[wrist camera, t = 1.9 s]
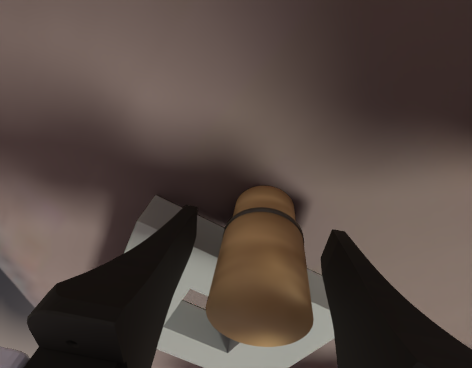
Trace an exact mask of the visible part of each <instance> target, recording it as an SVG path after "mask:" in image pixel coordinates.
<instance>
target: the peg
mask: <svg viewBox="0 0 472 368" xmlns="http://www.w3.org/2000/svg"><path fill="white" fill-rule="evenodd" d="M206 315H207V318H208V320H209V321H210V323H211V324H212V326H213V327H214V328H215V329H216V330H218V331H219V332H220V333H222V334H223V335H225V336H226V337H228V338H230V339H232V340H235V341H237V342H240V343H243V344H247V345H252V346H259V347H277V346H284V345H288V344H291V343H294V342H296V341H298V340H300V339H302V338H303V337H305V336H306V335H307V334H308V333H309V332H310V330H311V328H312V326H313V321H314V318H313V310H312V303H311V295H310V288H309V280H308V273H307V265H306V258H305V251H304V238H303V233H302V230H301V228H300V226H299V225H298V223H297V222H296V219H295V210H294V205H293V202H292V200H291V198H290V197H289V196H288V195H287V194H286V193H285V192H284V191H282V190H280V189H278V188H275V187H272V186H256V187H252V188H250V189H248V190H246V191H244V192H243V193H242V194H241V195H240V196H239V198H238V199H237V202H236V205H235V210H234V214H233V217H232V218H231V219H230V220H229V221H228V223H227V224H226V226H225V229H224V233H223V239H222V244H221V248H220V252H219V256H218V260H217V264H216V268H215V272H214V276H213V280H212V284H211V288H210V292H209V296H208V300H207V304H206Z"/></svg>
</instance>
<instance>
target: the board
mask: <svg viewBox="0 0 472 368" xmlns="http://www.w3.org/2000/svg"><path fill="white" fill-rule="evenodd" d="M181 209H182V207H180V206H177V205H175V204H173V203H171V202H169V201H167V200H165V199H163V198H161V197H159V196H157V195H155V196H154V198H153V199H152V200H151V202H150V203H149V205H148V206H147V207H146V209H145V210H144V212H143V213H142V214H141V216H140V217H139V219H138V220H137V222H136V224H135V227H134V229H133V232H132V234H131V237H130V239H129V242H128V244H127V247H126V249H125V252H124V253H126V252H128V251H129V250H131V249H132V248H134V247H135V246H137V245H138V244H140V243H141V242H143V241H144V240H146V239H147V238H148V237H150V236H151V235H152V234H153V233H155V232H156V231H157V230H159V229H160V228H161V227H162V226H163V225H165V224H166V223H167V222H168V221H169V220H170V219H171V218H172V217H174V216H175V215H176V214H177V213H178V212H179V211H180V210H181ZM224 229H225V228H223V227H221V226H219V225H216V224H214V223H212V222H210V221H208V220H206V219H204V218H202V217H200V216H198V215H197V234H196V240H195V243H194V247H193V250H192V253H191V256H190V258H189V260H188V263H187V265H186V267H185V270H184V272H183V274H182V276H181V279H180V281H179V283H178V286H177V288H176V290H175V293H174V295H173V298H172V301H171V304H170V307H169V310H168V313H167V316H166V319H165V323H164V326H163V329H162V332H161V335H160V339H159V342H158V345H157V350H160V351H163V352H165V353H168V354H170V355H173V356H175V357H178V358H180V359H183V360H185V361H188V362H190V363H193V364H196V365H198V366H201V367H203V368H289V367H291V366H292V365H294V364H295V363H297V362H298V361H300V360H301V359H303V358H304V357H306V356H308V355H309V354H311V353H312V352H314V351H315V350H317V349H318V348H320V347H322V346H323V345H325V344H326V343H328V342H329V341H331V340H332V339H334V338H335V337H334V329H333V323H332V318H331V314H330V309H329V305H328V300H327V296H326V291H325V287H324V282H323V277H322V276H321V275H319V274H317V273H315V272H313V271H311V270H309V269H307V273H308V280H309V288H310V295H311V303H312V310H313V318H314V321H313V326H312V328H311V330H310V332H309V333H308V334H307V335H306V336H305V337H303V338H302V339H300V340H298V341H296V342H294V343H291V344H288V345H284V346H277V347H259V346H252V345H247V344H243V343H240V342H237V341H235V340H232V339H230V338H228V337H226V336H225V335H223V334H222V333H220V332H219V331H218V330H216V329H215V328H214V327H213V326H212V324H211V323H210V321H209V320H208V318H207V315H206V310H204V309H201V308H199V307H197V306H194V305H192V304H190V303H187V302H185V301H183V300H182V299H183V298H184V296H185V295H186V294H187V292H188V291H189V289H192V290H194V291H196V292H199V293H201V294H203V295H206V296H209V292H210V288H211V284H212V280H213V276H214V272H215V268H216V264H217V260H218V256H219V252H220V248H221V244H222V239H223V233H224Z"/></svg>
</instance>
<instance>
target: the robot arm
mask: <svg viewBox="0 0 472 368" xmlns="http://www.w3.org/2000/svg"><path fill="white" fill-rule="evenodd" d="M197 209H198V207H194V206H188V205H186V206H184V207H183V208H182V209H181V210H180V211H179V212H178V213H177V214H176V215H175V216H174V217H172V218H171V219H170V220H169V221H168V222H167V223H166V224H165V225H163V226H162V227H161V228H160V229H159V230H157V231H156V232H155V233H153V234H152V235H151V236H150V237H148V238H147V239H146V240H144V241H143V242H141V243H140V244H138V245H137V246H135V247H134V248H132V249H131V250H129V251H128V252H126V253H124V254H122V255H121V256H119V257H117V258H115V259H113V260H111V261H110V262H108V263H106V264H103V265H101V266H99V267H97V268H95V269H93V270H90V271H88V272H86V273H83V274H81V275H78V276H76V277H73V278H70V279H68V280H65V281H63V282H60V283H57V284H56V285H55V286H54V287H53V288H52V289H51V290H50V291H49V292H48V293H47V295H46V296H45V297H44V298H43V299H42V300H41V302H40V303H39V304H38V305H37V306H36V308H35V309H34V310H33V311H32V312H31V314H30V315H29V316H28V319H27V324H28V327H29V330H30V331H31V333H32V335H33V337H34V338H35V340H36V342H37V344H38V345H39V348H38V349H37V351H36V352H35V353H34V355H33V356H32V357H31V358H29V356H28V355H26V354H25V353H23V352H21V351H18V350H14V349H9V348H4V347H0V368H151V366H152V362H153V359H154V356H155V352H156V349H157V345H158V342H159V339H160V335H161V332H162V329H163V326H164V323H165V319H166V316H167V313H168V310H169V307H170V304H171V301H172V298H173V295H174V293H175V290H176V288H177V286H178V283H179V281H180V279H181V276H182V274H183V272H184V270H185V267H186V265H187V263H188V260H189V258H190V256H191V253H192V250H193V247H194V243H195V240H196V234H197ZM321 268H322V277H323V282H324V287H325V291H326V296H327V300H328V305H329V309H330V314H331V318H332V323H333V329H334V337H335V345H336V354H337V364H338V368H472V349H470V348H469V347H467V346H466V345H464V344H463V343H461V342H460V341H458V340H457V339H456V338H454V337H453V336H451V335H450V334H449V333H447V332H446V331H445V330H443V329H442V328H441V327H439V326H438V325H437V324H435V323H434V322H433V321H431V320H430V319H429V318H428V317H427V316H425V315H424V314H423V313H422V312H420V311H419V310H418V309H417V308H416V307H414V306H413V305H412V304H411V303H410V302H409V301H408V300H407V299H405V298H404V297H403V296H402V295H401V294H400V293H399V292H398V291H397V290H396V289H395V288H394V287H393V286H392V285H391V284H390V283H389V282H388V281H387V280H386V279H385V278H384V277H383V276H382V275H381V274H380V273H379V272H378V271H377V269H376V268H375V267H374V266H373V265H372V264H371V263H370V261H369V260H368V259H367V258H366V257H365V256H364V254H363V253H362V252H361V251H360V250H359V248H358V247H357V246H356V245H355V243H354V242H353V241H352V240H351V238H350V237H349V236H348V235H347V234H346V233H345V231H339V230H333V229H332V231H331V234H330V236H329V239H328V241H327V244H326V246H325V249H324V251H323V253H322V256H321Z"/></svg>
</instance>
